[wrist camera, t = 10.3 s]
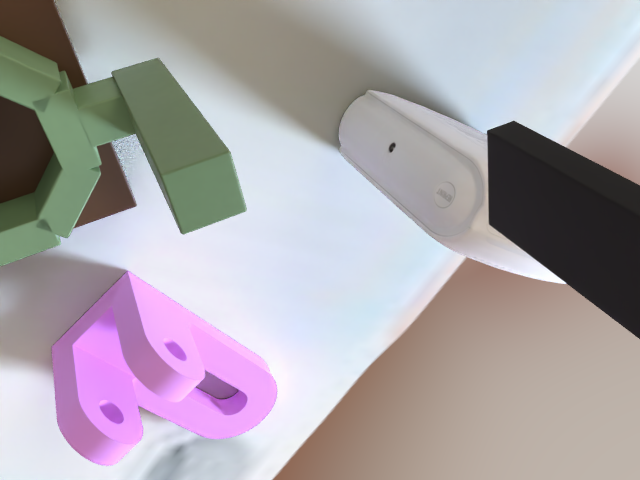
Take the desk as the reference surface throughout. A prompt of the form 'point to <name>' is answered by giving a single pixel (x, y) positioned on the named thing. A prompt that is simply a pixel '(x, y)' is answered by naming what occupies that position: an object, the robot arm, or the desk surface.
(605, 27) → the desk surface
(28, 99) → the sage ring
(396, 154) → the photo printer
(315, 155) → the desk surface
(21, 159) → the peg stand
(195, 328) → the bracket
